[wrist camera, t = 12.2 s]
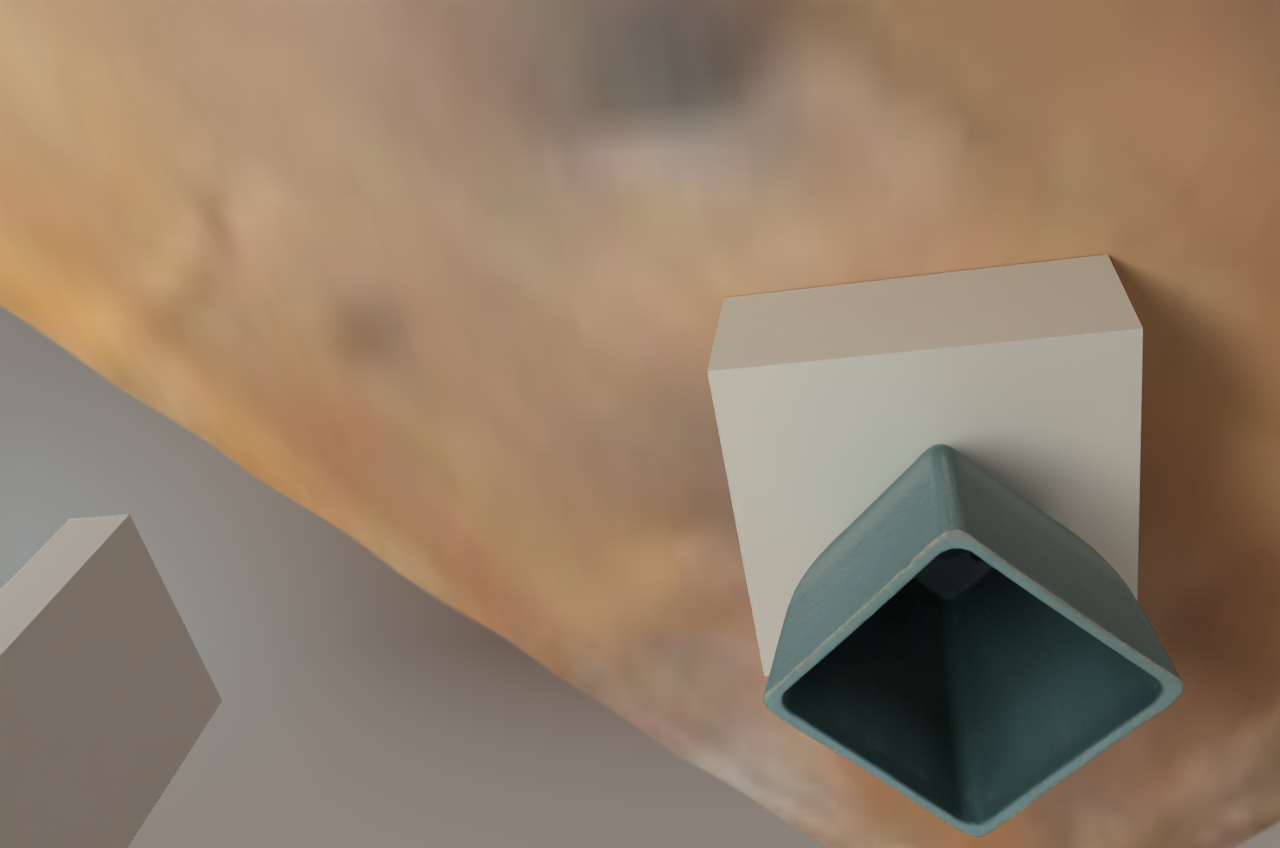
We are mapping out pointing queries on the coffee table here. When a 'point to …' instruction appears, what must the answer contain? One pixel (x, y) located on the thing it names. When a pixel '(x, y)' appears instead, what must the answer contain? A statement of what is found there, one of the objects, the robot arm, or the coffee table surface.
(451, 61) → the coffee table surface
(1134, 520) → the stone slab
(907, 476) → the flower pot
